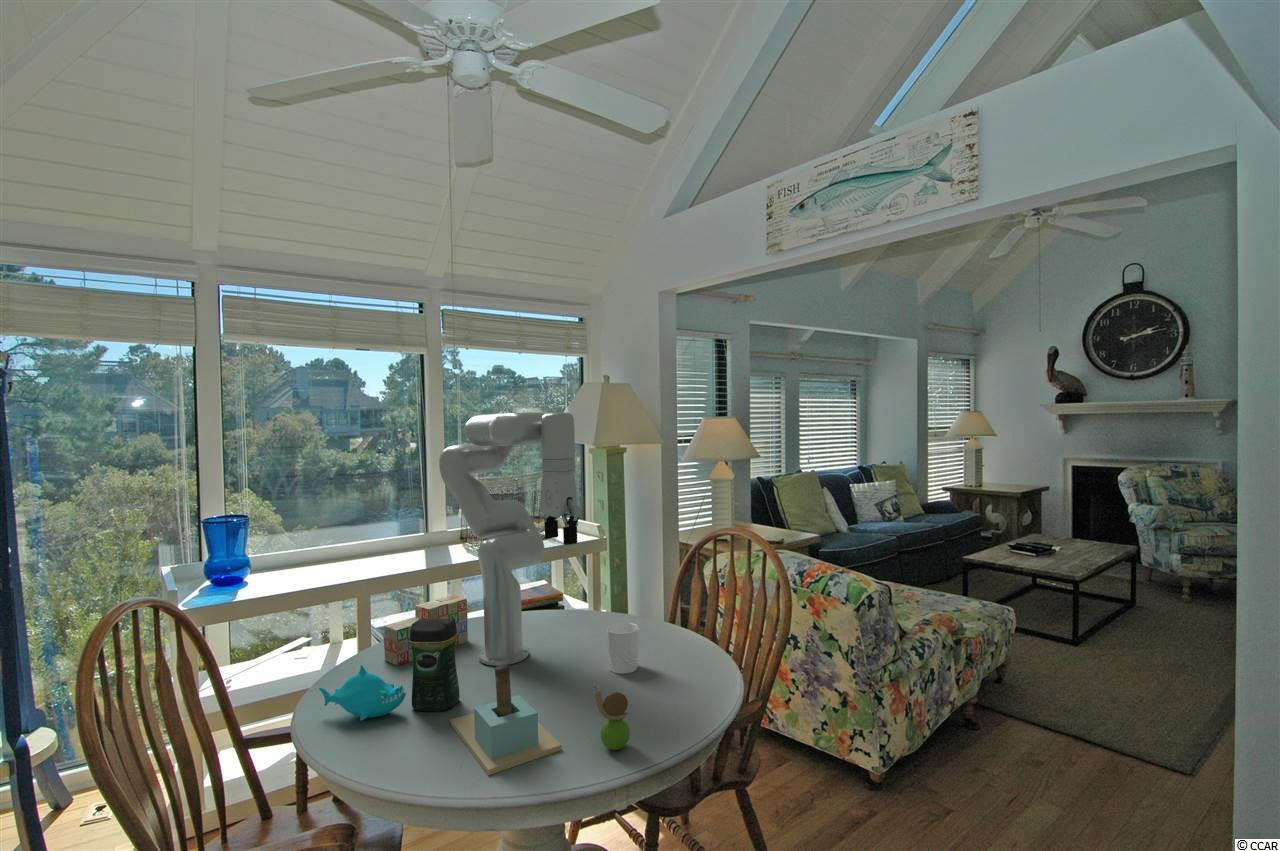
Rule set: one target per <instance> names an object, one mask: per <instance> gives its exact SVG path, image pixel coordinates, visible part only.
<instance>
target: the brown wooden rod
mask: <svg viewBox="0 0 1280 851" xmlns="http://www.w3.org/2000/svg"><path fill="white" fill-rule="evenodd" d="M510 670H511V669H510V665H500V666H495V668H494V676H495V689H496V690H495V692H496V695H495V696H496V701H497V714H498V717H503V716H506V715H509V714H512V708H511V697H512V691H511V673H510V672H511V671H510Z"/></svg>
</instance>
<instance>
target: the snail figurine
mask: <svg viewBox="0 0 1280 851" xmlns="http://www.w3.org/2000/svg"><path fill="white" fill-rule="evenodd" d="M597 687H598V686H597V684H596V683H594V685H593V688H594V692H593V694H594V696H593V697H594V698H595V703H596V708H597V710H598V712H599V714H600V715H601V717H603V718H604V719H607V720H605V722H604V723H603V724H602V726H601V727H600V732H599V733H600V739H601V742H602V744H603V745H604V747H606V748H607V749H609V750H611V751H617V750H621V749H623V748H624V747H625V746H626V745H627V744H628V742H629V740H630V736H631V735H630V734H631V733H630V726H629V725H628V723H627V722H626V721H625V720H624V719H625V718H626V717H627V716H628V715H629V712H628V711H627V710H628V706H629V700H628V699H627V696H626V695H625V694H624V693H622V692H619V691H614V692H611V693H609V694H608V695H606V696H605V697H604V700H603V699H602V695H603V693H602V690H596V689H597Z"/></svg>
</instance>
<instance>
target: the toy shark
mask: <svg viewBox="0 0 1280 851" xmlns="http://www.w3.org/2000/svg"><path fill="white" fill-rule="evenodd" d="M359 667H360V669H359V672H358V673H356V674H354V675H352V676H350V677H348V678H347V680H346V681H345V682H344V683H343V684H342V686H340V687H339V688H335V691H334V693H333V694H331V693H329V692H328V691H327V690H326V689H325V688H323V687H322V686H321V687H319V688H318V690H319V691H320V693H322V695H323V698H324V707H326V706H327V705H328V704H329V703H334V706H335V705H339V706H340V707H341V708H343V709H344V710H345V711H346V712H347V713H349V714H351V715H353V716H356V717H358V718H359V721H361V722H362V721H363V720H366V718H367V719H368V718H369V719H370V718H378V717H382V716H385V715H387V714H389V713H391V712H393V711H394V710H396V709H397V708H398V707H400V705H402V702H403V701H404V699H405V697H406V695H407V692H406V691H405V687H404V686H403V685H398V686H397V687H395V685H394V683H391V682H390V683H387V682H385V680H383V678H381V677H380V676H378V675H377V674H375V673H372V672H367V670H366V669H365V667H364V666H363V665H362V664H360V666H359Z"/></svg>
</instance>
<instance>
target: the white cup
mask: <svg viewBox="0 0 1280 851" xmlns="http://www.w3.org/2000/svg"><path fill="white" fill-rule="evenodd" d="M639 627H640V626H639V625H638V624H636V623H632V622H617V623H612V624H609V625H608V626H606V637H607V638H606V642H607V653H608V660H609V661H608V662H609V669H610V672H612V673H613V674H619V675H620V674H621V675H626V674H631V673H634V672H636V671H637V670H638V662H639V661H638V657H639V641H640V640H639V633H640V632H639V631H640V630H639V629H640V628H639Z"/></svg>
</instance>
